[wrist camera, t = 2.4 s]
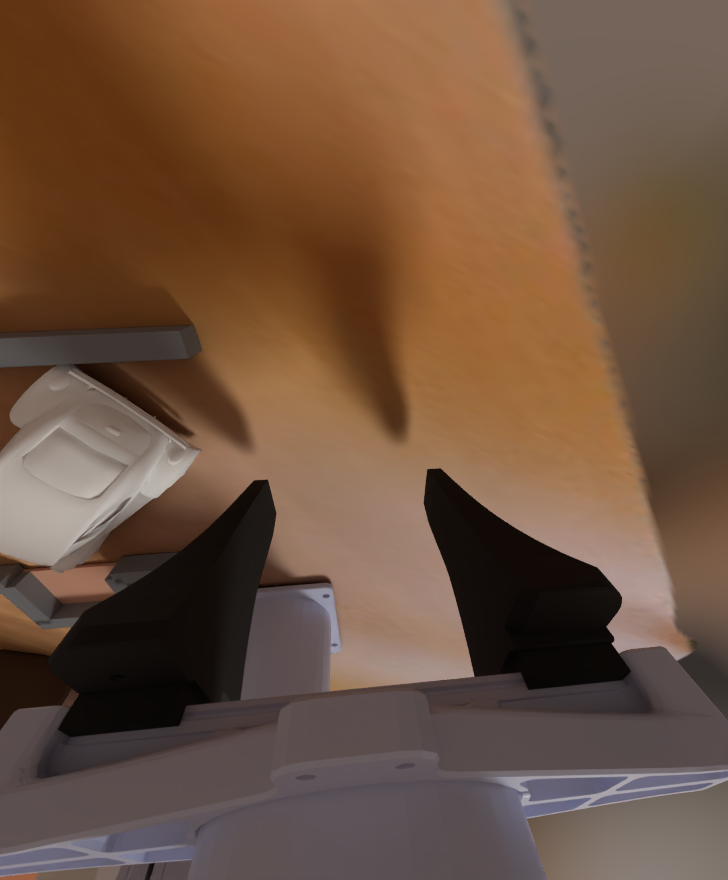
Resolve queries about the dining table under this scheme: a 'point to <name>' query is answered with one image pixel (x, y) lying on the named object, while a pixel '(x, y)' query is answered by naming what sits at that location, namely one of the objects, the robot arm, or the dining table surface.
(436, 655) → the dining table surface
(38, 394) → the car
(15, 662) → the beer bottle
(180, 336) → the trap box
